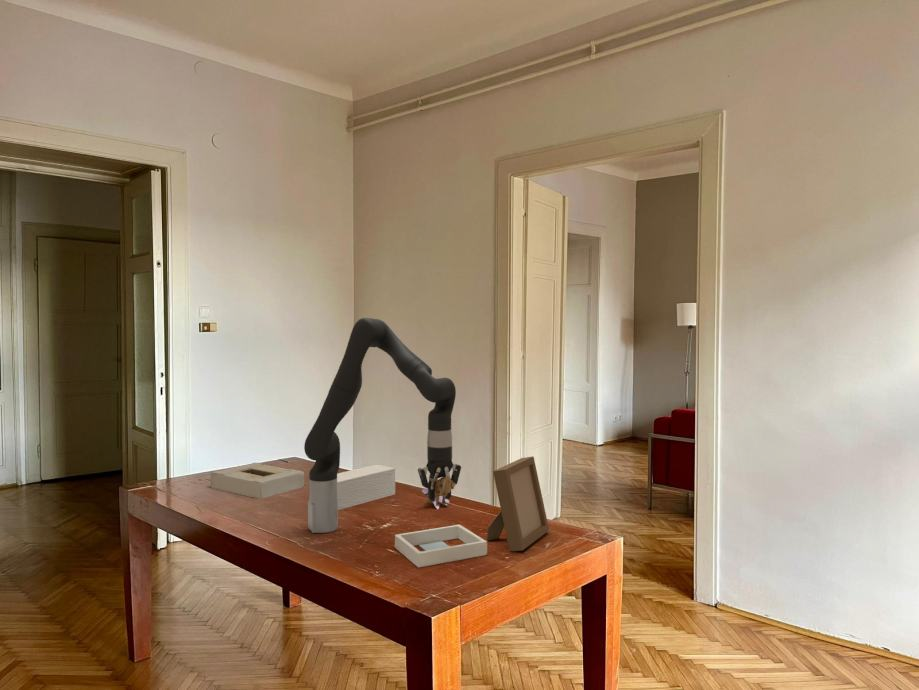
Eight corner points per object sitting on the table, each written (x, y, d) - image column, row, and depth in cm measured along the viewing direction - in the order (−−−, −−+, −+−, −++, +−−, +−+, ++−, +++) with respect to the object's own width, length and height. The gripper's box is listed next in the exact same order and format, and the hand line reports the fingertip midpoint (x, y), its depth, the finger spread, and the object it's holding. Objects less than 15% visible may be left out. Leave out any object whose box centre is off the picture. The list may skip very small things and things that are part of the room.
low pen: (418, 567, 190) (418, 553, 190) (394, 547, 206) (394, 534, 206) (487, 554, 200) (487, 541, 200) (459, 536, 216) (459, 524, 216)
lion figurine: (457, 506, 199) (457, 476, 199) (442, 509, 196) (442, 479, 196) (432, 495, 211) (432, 467, 211) (417, 498, 208) (417, 469, 208)
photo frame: (549, 533, 220) (549, 458, 219) (522, 553, 201) (522, 471, 200) (508, 526, 227) (508, 453, 226) (478, 545, 208) (478, 466, 207)
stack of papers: (377, 490, 275) (377, 464, 275) (395, 494, 268) (395, 468, 268) (314, 507, 251) (313, 478, 251) (331, 512, 244) (331, 483, 244)
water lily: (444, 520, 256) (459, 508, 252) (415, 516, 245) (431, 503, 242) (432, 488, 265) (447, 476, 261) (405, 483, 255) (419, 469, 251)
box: (305, 487, 281) (254, 477, 298) (305, 469, 281) (254, 460, 298) (261, 501, 262) (210, 489, 279) (261, 482, 261) (209, 471, 278)
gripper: (423, 448, 195) (423, 506, 196) (466, 444, 202) (466, 500, 202) (413, 444, 202) (413, 499, 203) (455, 440, 208) (455, 494, 209)
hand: (439, 499), depth 203 cm, fingers closed on lion figurine, 4 cm apart
